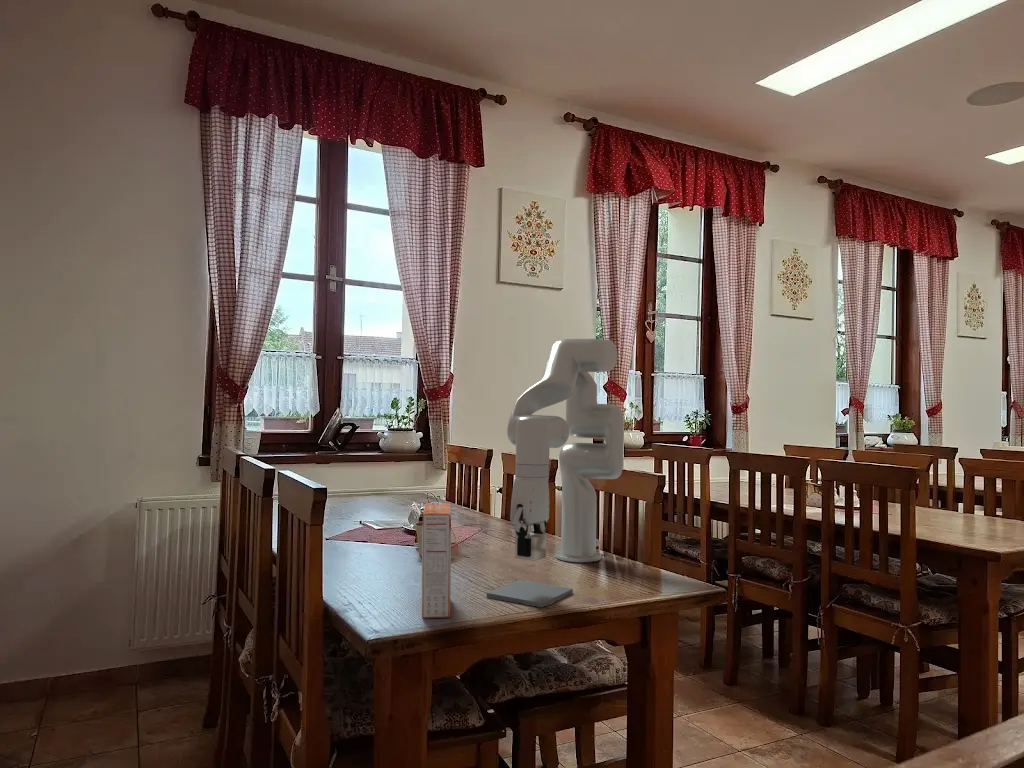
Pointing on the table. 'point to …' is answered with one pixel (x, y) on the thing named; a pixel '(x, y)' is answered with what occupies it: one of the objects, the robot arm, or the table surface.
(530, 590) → the slate board
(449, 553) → the cracker box
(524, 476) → the robot arm
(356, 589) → the table surface
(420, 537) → the flower pot
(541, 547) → the cream cube
